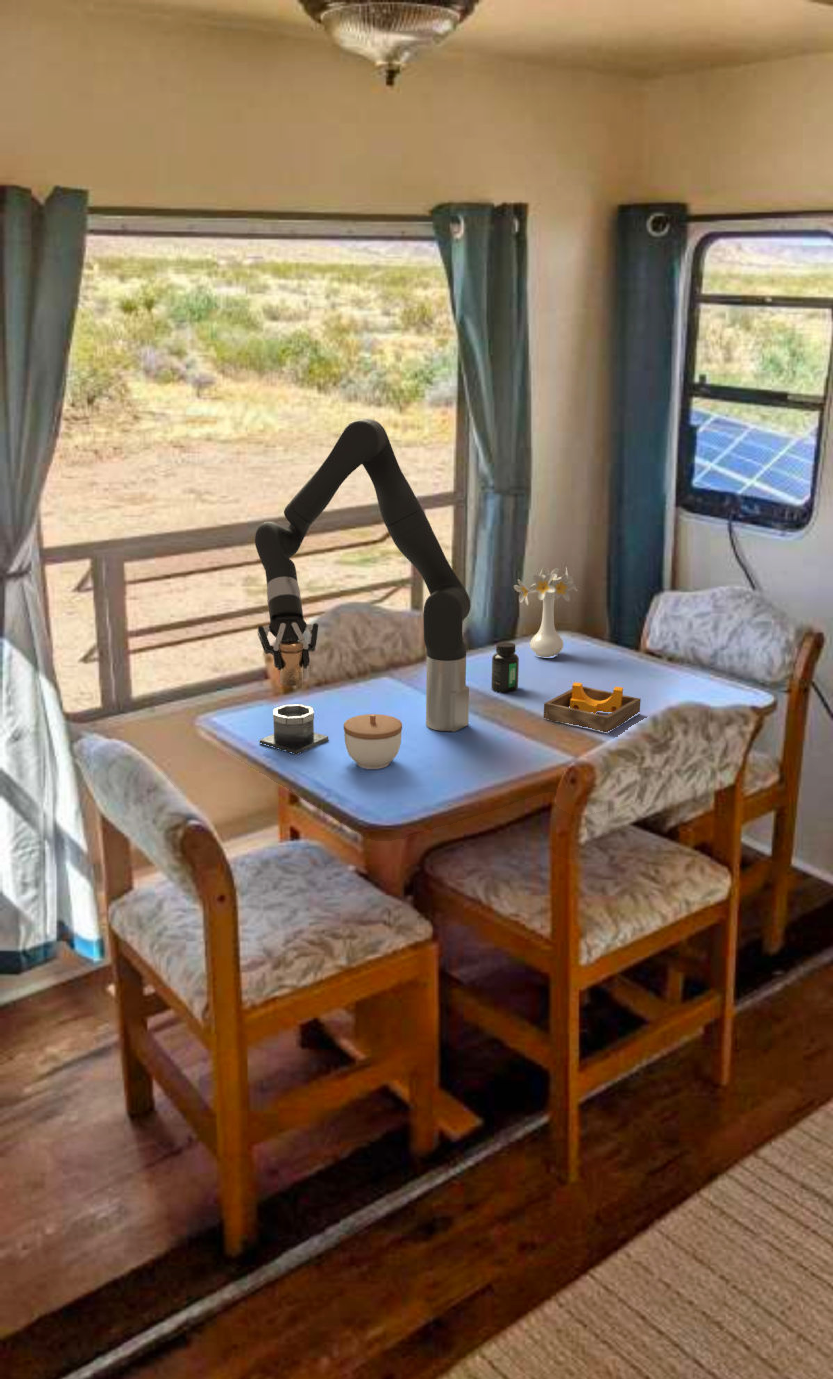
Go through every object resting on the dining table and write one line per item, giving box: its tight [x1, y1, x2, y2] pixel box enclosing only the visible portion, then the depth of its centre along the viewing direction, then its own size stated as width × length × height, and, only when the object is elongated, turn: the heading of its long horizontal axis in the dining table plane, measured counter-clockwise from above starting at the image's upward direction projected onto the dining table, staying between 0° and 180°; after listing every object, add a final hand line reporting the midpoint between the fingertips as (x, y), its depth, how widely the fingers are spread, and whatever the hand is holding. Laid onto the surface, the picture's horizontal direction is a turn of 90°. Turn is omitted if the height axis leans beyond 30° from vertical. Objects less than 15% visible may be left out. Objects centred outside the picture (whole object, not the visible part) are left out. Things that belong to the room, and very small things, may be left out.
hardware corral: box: [543, 685, 642, 732], centre depth 291 cm, size 17×17×4 cm
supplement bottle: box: [490, 641, 520, 694], centre depth 309 cm, size 7×7×12 cm
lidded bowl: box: [343, 713, 403, 770], centre depth 261 cm, size 13×13×11 cm
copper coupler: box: [279, 641, 304, 687], centre depth 268 cm, size 5×5×9 cm
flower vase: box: [513, 566, 579, 657], centre depth 334 cm, size 13×18×25 cm
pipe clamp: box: [570, 682, 624, 713], centre depth 293 cm, size 12×4×6 cm, turn 71°
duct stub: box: [259, 703, 329, 755], centre depth 273 cm, size 11×11×8 cm
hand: (292, 667), depth 267 cm, fingers closed on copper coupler, 5 cm apart
